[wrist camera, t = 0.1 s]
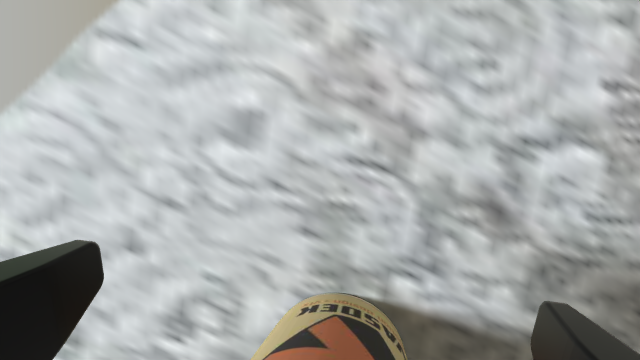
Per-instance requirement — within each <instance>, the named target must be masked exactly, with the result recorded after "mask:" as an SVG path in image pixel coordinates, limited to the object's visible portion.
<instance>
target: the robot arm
mask: <svg viewBox="0 0 640 360" xmlns="http://www.w3.org/2000/svg"><path fill="white" fill-rule="evenodd" d="M103 280H104V273H103V266H102V259H101V253H100V248H99V246H98V244H97V243H95V242H92V241H84V240H75V241H71V242H68V243H64V244H61V245H57V246H54V247H50V248H47V249H44V250H40V251H37V252H33V253H30V254H26V255H23V256H19V257H16V258H12V259H9V260H6V261H2V262H0V360H53V359H54V357H55V356H56V355H57V353H58V352H59V351H60V349H61V348H62V346H63V345H64V344H65V342H66V341H67V339H68V338H69V336H70V335H71V333H72V331H73V330H74V328H75V327H76V325H77V324H78V322H79V321H80V319H81V317H82V316H83V314H84V313H85V311H86V310H87V308H88V307H89V305H90V303H91V302H92V300H93V299H94V297H95V296H96V294H97V293H98V291H99V289H100V288H101V286H102V283H103ZM531 350H532V355H533V360H640V354H638V353H637V352H635V351H634V350H633V349H631V348H630V347H628V346H627V345H625V344H624V343H623V342H621V341H620V340H618V339H617V338H615V337H614V336H612V335H611V334H610V333H608V332H607V331H605V330H604V329H602V328H601V327H600V326H598V325H597V324H595V323H594V322H592V321H591V320H590V319H588V318H587V317H585V316H584V315H582V314H581V313H579V312H578V311H577V310H575V309H574V308H572V307H571V306H569V305H568V304H565V303H558V302H551V301H545V302H543V303H542V304H541V306H540V308H539V311H538V315H537V318H536V322H535V325H534V329H533V333H532V337H531Z"/></svg>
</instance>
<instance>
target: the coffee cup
mask: <svg viewBox="0 0 640 360" xmlns="http://www.w3.org/2000/svg"><path fill="white" fill-rule="evenodd" d="M251 360H407V356H406V353H405V350H404V346H403V343H402V340H401V338H400V336H399V334H398V332H397V330H396V328H395V326H394V325H393V324H392V322H391V321H390V320H389V318H388V317H387V316H386V315H385V314H384V313H382V312H381V311H380V310H379V309H378V308H376V307H375V306H374V305H372V304H371V303H369V302H367V301H365V300H363V299H361V298H358V297H355V296H351V295H347V294H340V293H325V294H320V295H315V296H312V297H309V298H307V299H305V300H303V301H301V302H299V303H298V304H296V305H295V306H294V307H292V308H291V309H290V310H289V311H288V312H287V313H286V314H285V315H284V316H283V318H282V319H281V320H280V321H279V322H278V323H277V325H276V326H275V328H274V329H273V330H272V332H271V333H270V334H269V336H268V337H267V338H266V340H265V341H264V342H263V344H262V345H261V346H260V348H259V349H258V350H257V352H256V353H255V354H254V356H253V357H252V358H251Z"/></svg>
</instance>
